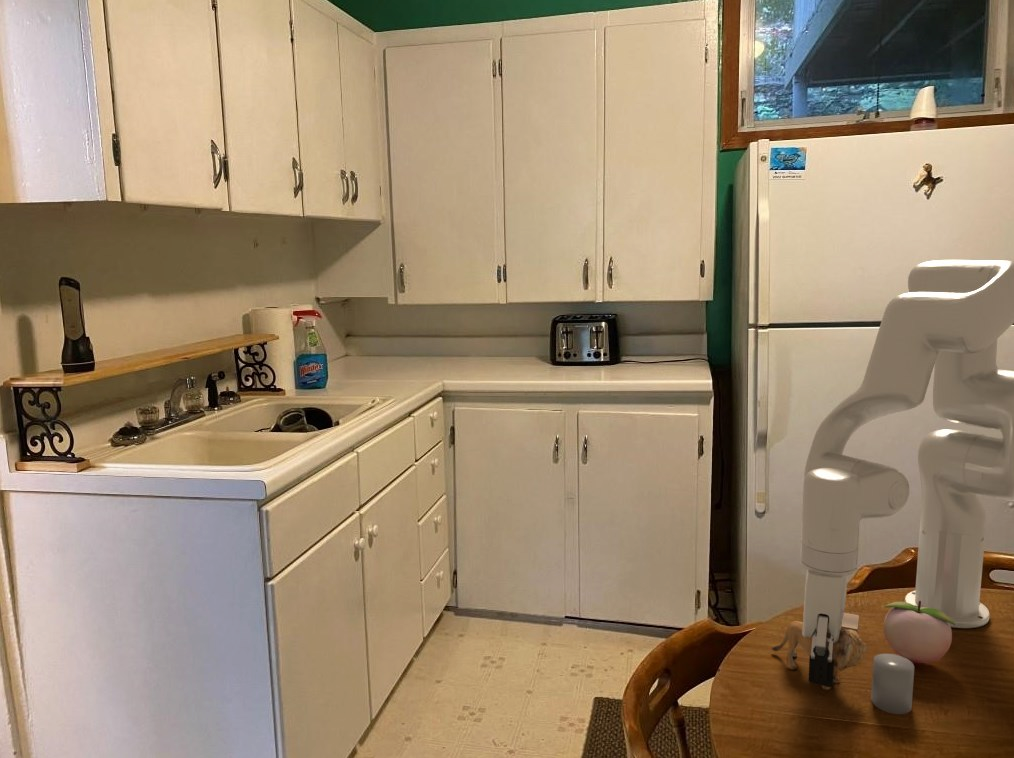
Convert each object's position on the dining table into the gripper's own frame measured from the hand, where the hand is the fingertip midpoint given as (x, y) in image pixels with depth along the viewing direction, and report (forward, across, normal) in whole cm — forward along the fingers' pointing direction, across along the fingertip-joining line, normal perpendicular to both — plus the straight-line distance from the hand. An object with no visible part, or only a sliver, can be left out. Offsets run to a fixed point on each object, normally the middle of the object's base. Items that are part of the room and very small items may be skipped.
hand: (823, 668), depth 113 cm
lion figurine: (+2, -1, -1) cm, 2 cm away
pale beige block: (+1, -12, +2) cm, 12 cm away
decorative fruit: (+1, -9, +12) cm, 15 cm away
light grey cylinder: (+1, +3, +9) cm, 10 cm away
